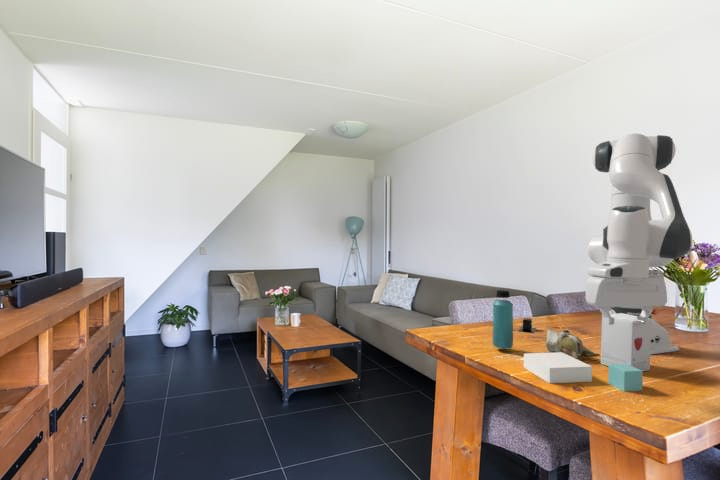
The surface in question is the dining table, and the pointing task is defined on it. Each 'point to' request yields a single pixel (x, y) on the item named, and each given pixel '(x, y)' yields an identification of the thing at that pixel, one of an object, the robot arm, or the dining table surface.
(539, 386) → the dining table surface
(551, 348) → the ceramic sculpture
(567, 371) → the stand
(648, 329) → the supplement box
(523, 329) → the black boxy piece
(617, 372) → the cube
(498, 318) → the beverage bottle
